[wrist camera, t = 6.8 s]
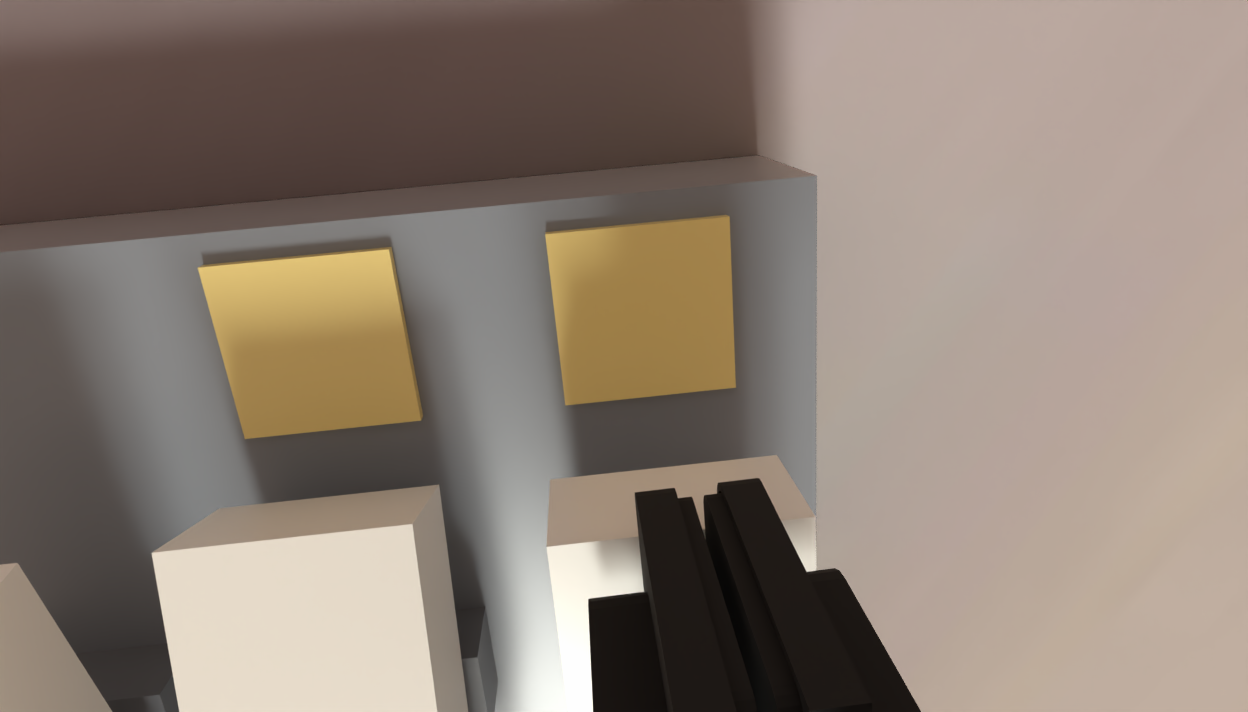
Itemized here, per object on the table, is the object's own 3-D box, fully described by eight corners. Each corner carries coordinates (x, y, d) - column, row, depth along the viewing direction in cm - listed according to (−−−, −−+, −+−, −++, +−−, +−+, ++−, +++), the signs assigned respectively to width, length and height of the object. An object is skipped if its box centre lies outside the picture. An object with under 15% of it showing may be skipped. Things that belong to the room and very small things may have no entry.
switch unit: (-66, 231, 16) (-370, 300, 11) (758, 155, 16) (846, 186, 11) (170, 838, 21) (46, 1073, 16) (772, 763, 22) (835, 966, 17)
